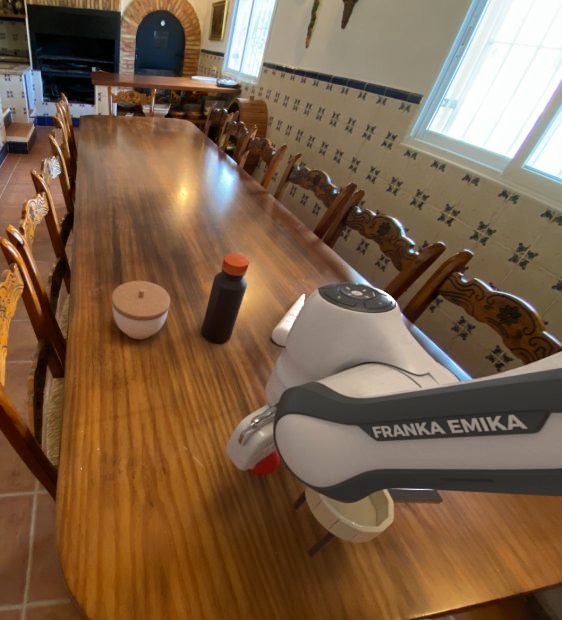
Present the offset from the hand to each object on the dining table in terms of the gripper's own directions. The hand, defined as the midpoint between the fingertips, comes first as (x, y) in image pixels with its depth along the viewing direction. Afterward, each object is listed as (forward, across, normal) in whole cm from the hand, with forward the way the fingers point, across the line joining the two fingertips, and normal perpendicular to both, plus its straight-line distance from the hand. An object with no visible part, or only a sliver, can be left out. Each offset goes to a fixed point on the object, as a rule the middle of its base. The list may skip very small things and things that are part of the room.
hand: (272, 448), depth 55 cm
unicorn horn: (+6, +35, +23) cm, 42 cm away
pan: (+6, +3, -12) cm, 14 cm away
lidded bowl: (+5, 0, +38) cm, 38 cm away
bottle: (+6, +15, +28) cm, 32 cm away
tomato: (+6, 0, +1) cm, 6 cm away
